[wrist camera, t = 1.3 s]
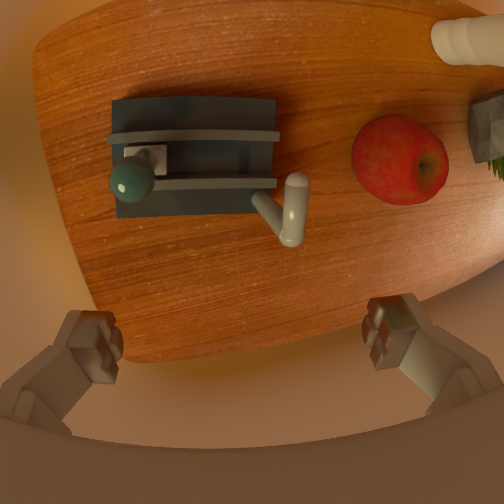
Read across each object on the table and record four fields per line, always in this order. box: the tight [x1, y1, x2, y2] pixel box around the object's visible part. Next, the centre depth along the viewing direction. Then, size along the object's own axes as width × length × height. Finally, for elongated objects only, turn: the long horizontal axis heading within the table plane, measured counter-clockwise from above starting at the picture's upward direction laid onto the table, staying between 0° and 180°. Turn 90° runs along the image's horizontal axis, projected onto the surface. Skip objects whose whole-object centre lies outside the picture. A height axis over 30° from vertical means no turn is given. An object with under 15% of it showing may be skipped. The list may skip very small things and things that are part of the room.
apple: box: [351, 115, 449, 205], centre depth 32 cm, size 11×11×11 cm
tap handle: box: [109, 143, 167, 203], centre depth 23 cm, size 3×4×12 cm
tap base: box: [107, 96, 310, 247], centre depth 26 cm, size 12×16×14 cm
